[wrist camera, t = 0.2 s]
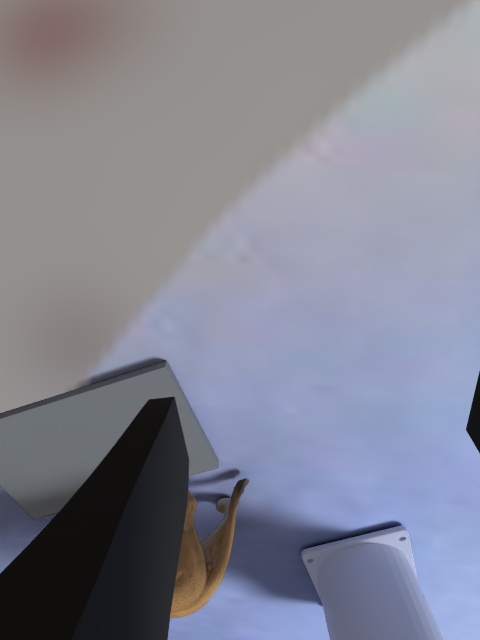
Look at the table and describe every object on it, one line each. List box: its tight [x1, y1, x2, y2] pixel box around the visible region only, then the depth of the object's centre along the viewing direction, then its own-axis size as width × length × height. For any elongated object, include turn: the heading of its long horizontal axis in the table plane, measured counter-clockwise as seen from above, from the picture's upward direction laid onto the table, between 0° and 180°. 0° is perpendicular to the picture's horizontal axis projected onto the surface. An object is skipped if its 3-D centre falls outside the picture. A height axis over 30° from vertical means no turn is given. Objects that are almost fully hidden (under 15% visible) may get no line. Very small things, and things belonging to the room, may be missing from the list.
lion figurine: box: [170, 478, 249, 618], centre depth 21 cm, size 15×5×9 cm, turn 115°
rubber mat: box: [0, 361, 219, 519], centre depth 21 cm, size 8×13×1 cm, turn 109°
